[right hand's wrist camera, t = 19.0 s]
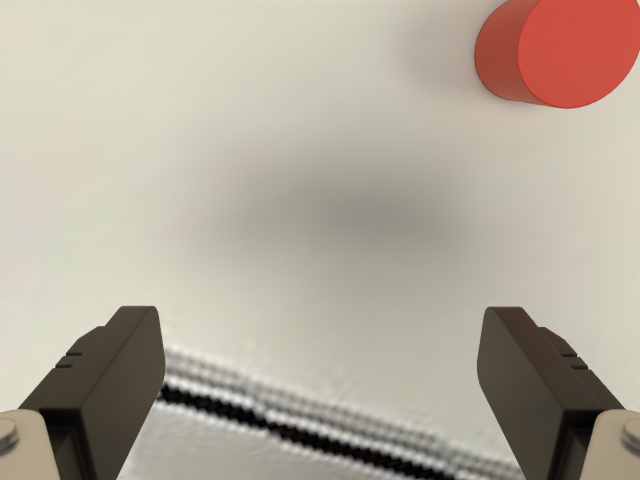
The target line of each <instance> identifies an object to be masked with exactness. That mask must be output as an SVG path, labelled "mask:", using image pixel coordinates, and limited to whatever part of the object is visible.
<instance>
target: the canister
mask: <svg viewBox="0 0 640 480" xmlns="http://www.w3.org/2000/svg"><path fill="white" fill-rule="evenodd" d="M639 50H640V8H639V5H638V3H637V1H636V0H510V1H508V2H506V3H504V4H503V5H501V6H500V7H499V8H497V9H496V10H495V11H494V12H493V13H492V14H491V15H490V17H489V18H488V19H487V20H486V22H485V23H484V25H483V27H482V29H481V31H480V33H479V36H478V39H477V42H476V47H475V64H476V69H477V72H478V75H479V77H480V79H481V81H482V82H483V84H484V85H485V86H486V88H487V89H488V90H490V91H491V92H492V93H493V94H495V95H497V96H499V97H501V98H504V99H508V100H514V101H520V102H526V103H532V104H538V105H544V106H550V107H556V108H564V109H568V108H578V107H583V106H586V105H589V104H592V103H594V102H596V101H598V100H600V99H602V98H603V97H605V96H606V95H608V94H609V93H610V92H612V91H613V90H614V89H615V88H616V87H617V86H618V85H619V84H620V83H621V82H622V81H623V80H624V78H625V77H626V76H627V74H628V73H629V72H630V70H631V68H632V67H633V65H634V63H635V61H636V58H637V56H638V53H639Z"/></svg>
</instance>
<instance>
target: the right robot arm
mask: <svg viewBox="0 0 640 480" xmlns="http://www.w3.org/2000/svg"><path fill="white" fill-rule="evenodd" d="M477 374H478V380H479V383H480V386H481V389H482V391H483V393H484V395H485V397H486V399H487V401H488V403H489V405H490V407H491V409H492V411H493V413H494V415H495V417H496V419H497V421H498V423H499V425H500V427H501V429H502V431H503V433H504V435H505V437H506V439H507V441H508V443H509V445H510V447H511V449H512V451H513V453H514V455H515V457H516V459H517V461H518V463H519V466H520V468H521V470H522V472H523V474H524V476H525V478H526V480H640V413H638V412H634V411H630V410H626V409H625V408H624V407H623V406H622V405H621V403H620V402H619V401H618V400H617V399H616V398H615V397H614V395H613V394H612V393H611V392H610V391H609V390H608V389H607V388H606V386H605V385H604V384H603V383H602V382H601V381H600V380H599V378H598V377H597V376H596V375H595V374H594V373H593V372H592V370H588V366H587V365H586V364H585V362H584V361H583V360H582V359H581V358H580V357H577V353H576V352H575V351H574V350H573V349H572V348H571V347H570V345H569V344H568V343H567V342H566V341H565V340H564V339H563V338H561V337H559V336H558V335H556V334H555V333H553V332H552V331H550V330H548V329H547V328H545V327H538V326H537V325H536V324H535V323H534V321H533V320H532V319H531V318H530V316H529V315H528V314H527V313H526V312H525V310H524V309H523V308H521V307H488V308H487V309H486V311H485V314H484V319H483V325H482V332H481V339H480V345H479V352H478V359H477ZM164 375H165V355H164V348H163V342H162V335H161V328H160V321H159V315H158V311H157V309H156V307H154V306H122V307H120V308H119V309H118V311H117V312H116V313H115V314H114V315H113V317H112V318H111V319H110V320H109V322H108V323H107V324H106V325H105V326H98V327H96V328H95V329H93V330H91V331H90V332H88V333H87V334H85V335H84V336H82V337H80V338H79V339H78V340H77V341H76V342H75V343H74V345H73V346H72V347H71V348H70V349H69V350H68V351H67V353H66V356H63V357H62V358H61V359H60V361H59V362H58V363H57V364H56V365H55V368H53V369H52V370H51V371H50V372H49V373H48V374H47V376H46V377H45V378H44V379H43V380H42V381H41V382H40V384H39V385H38V386H37V387H36V388H35V389H34V390H33V392H32V393H31V394H30V395H29V396H28V397H27V399H26V400H25V401H24V402H23V403H22V404H21V405H20V407H19V408H18V409H17V410H10V411H6V412H2V413H0V480H116V479H117V477H118V475H119V473H120V470H121V468H122V466H123V464H124V462H125V460H126V458H127V456H128V454H129V452H130V450H131V448H132V446H133V444H134V442H135V440H136V438H137V436H138V434H139V432H140V429H141V427H142V425H143V423H144V421H145V419H146V417H147V415H148V413H149V411H150V409H151V407H152V405H153V403H154V401H155V399H156V397H157V395H158V393H159V390H160V388H161V386H162V384H163V380H164Z"/></svg>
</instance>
